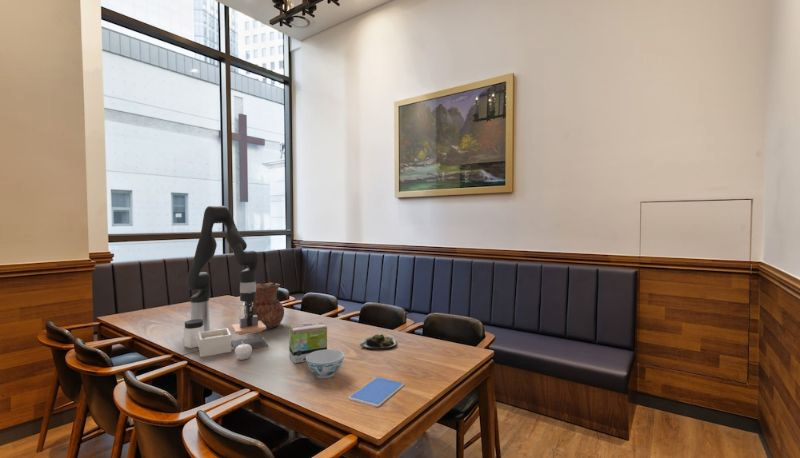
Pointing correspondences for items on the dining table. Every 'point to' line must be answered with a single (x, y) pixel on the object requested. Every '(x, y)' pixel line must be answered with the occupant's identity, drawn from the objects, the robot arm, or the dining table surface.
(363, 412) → the dining table surface
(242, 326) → the lid
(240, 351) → the plain white apple
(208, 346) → the storage box
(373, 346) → the salad plate
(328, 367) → the chinaware
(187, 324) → the jar
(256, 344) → the mat
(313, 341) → the tea box
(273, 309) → the jug
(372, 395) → the tablet computer
